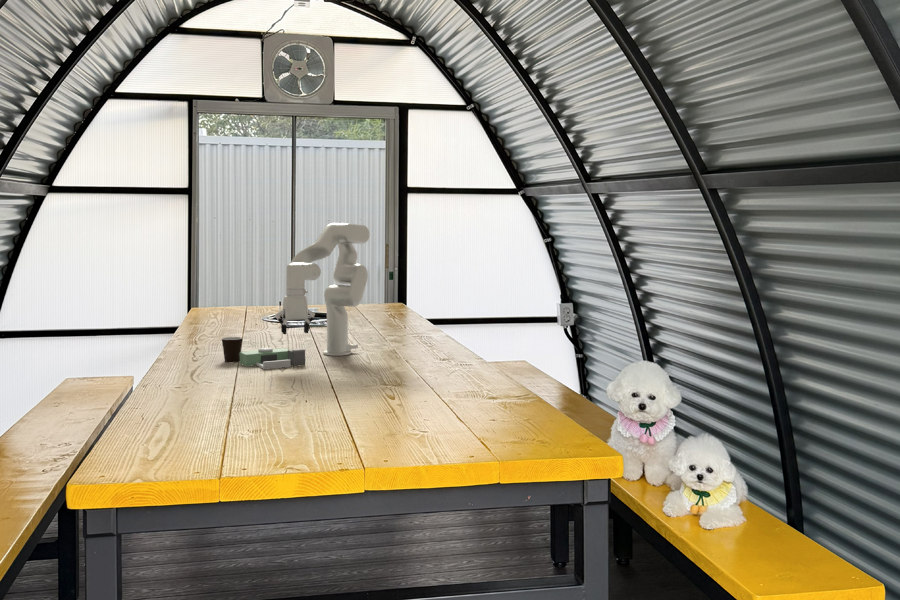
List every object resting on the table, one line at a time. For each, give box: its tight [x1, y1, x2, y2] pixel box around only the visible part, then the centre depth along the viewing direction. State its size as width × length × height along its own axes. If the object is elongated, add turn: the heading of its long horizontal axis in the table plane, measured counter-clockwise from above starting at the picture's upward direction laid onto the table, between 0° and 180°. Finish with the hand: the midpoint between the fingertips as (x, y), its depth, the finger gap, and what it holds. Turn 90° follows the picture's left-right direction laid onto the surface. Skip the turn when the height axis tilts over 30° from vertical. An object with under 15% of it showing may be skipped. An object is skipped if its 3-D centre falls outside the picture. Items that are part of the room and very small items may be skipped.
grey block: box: [288, 348, 306, 367], centre depth 341 cm, size 5×7×7 cm
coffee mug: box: [221, 336, 243, 363], centre depth 349 cm, size 12×9×10 cm
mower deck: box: [239, 347, 292, 370], centre depth 340 cm, size 20×18×6 cm
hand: (295, 333), depth 339 cm, fingers open, 9 cm apart
